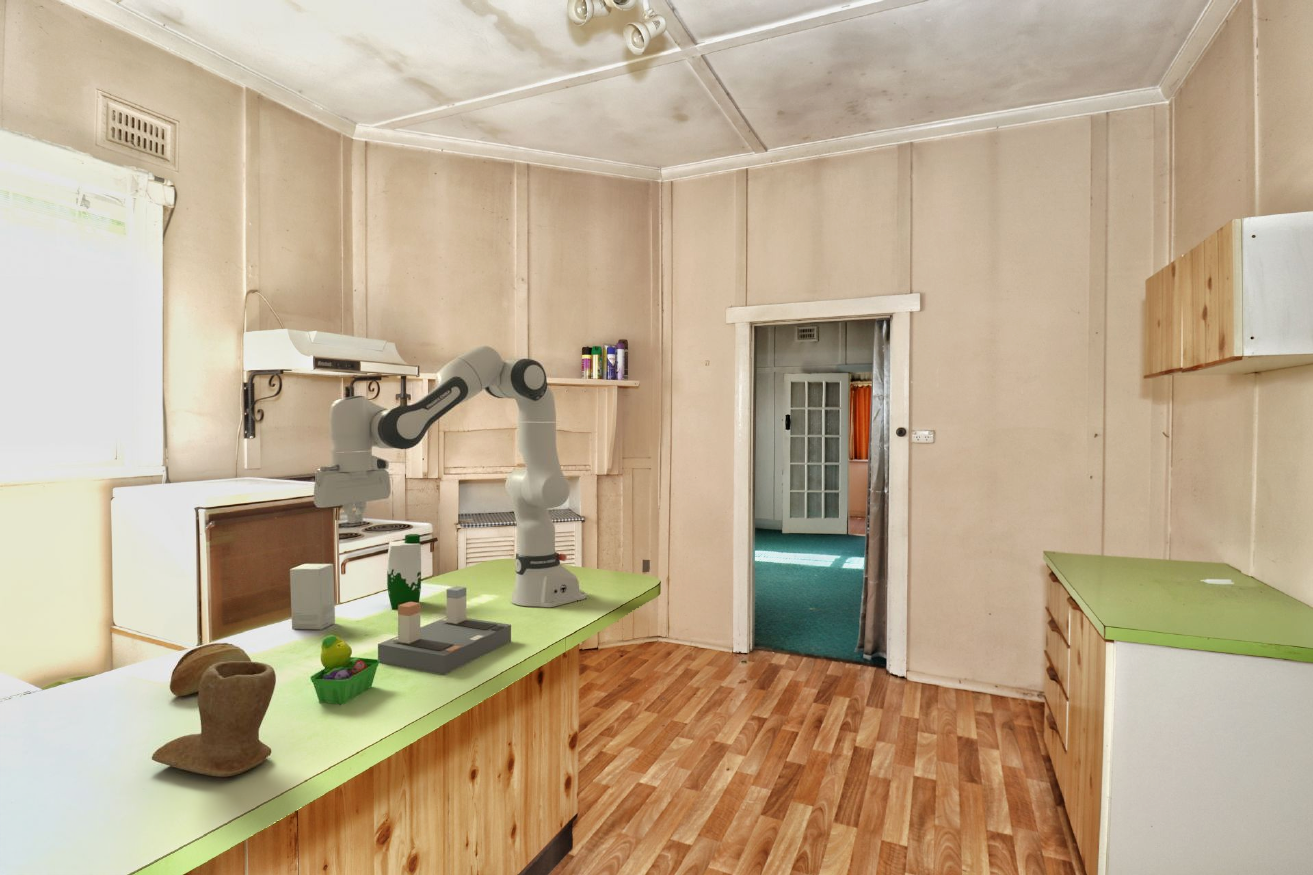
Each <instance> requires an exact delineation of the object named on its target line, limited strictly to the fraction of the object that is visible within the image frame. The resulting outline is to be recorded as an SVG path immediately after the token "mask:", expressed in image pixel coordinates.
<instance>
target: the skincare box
mask: <svg viewBox="0 0 1313 875" xmlns="http://www.w3.org/2000/svg"><path fill="white" fill-rule="evenodd" d="M289 578H290V579H289V581H290V602H291V603H290V610H291V629H292V630H318V631H319V630H324V629H326V628H327V627H329V626H331V625H334V624H335V623H336V608H335V603H336V602H335V576H334V563H304V564H301V565H298V566H295V567H293V568H290V569H289Z"/></svg>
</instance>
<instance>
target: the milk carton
mask: <svg viewBox="0 0 1313 875" xmlns="http://www.w3.org/2000/svg"><path fill="white" fill-rule="evenodd" d="M421 546H422V543H421V534H418V533H409V534H405V536H404V540H397V541H395V540H394V541H389V544H388V551H387V562H386V563H387V565H386V567H387V568H386V569H387V570H386V571H387V572H386V579H387V580H386V584H387V585H386V588H387V594H388V598H389V602H390V607H391V610H398V605H401V604H404V603H407V602H416V603H420V600H421V599H420V597H421V592H422V591H421V590H422V588H421V587H422V549H421V548H422V547H421Z"/></svg>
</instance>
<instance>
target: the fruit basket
mask: <svg viewBox="0 0 1313 875" xmlns="http://www.w3.org/2000/svg"><path fill="white" fill-rule="evenodd" d="M320 645H321V646H320V647H321V652H320V662H321V665H322V666H323V669H321V670H320V671H318V672H316V673H314V674H313V675H311V676H310V681H311V683H312V684H313V687H314V690H315V694H316V697H317V699H318V702H319V703H327V704H332V705H333V704H339V705H344V704H346V703H347V702H348V701H350V700H352V699H354V698H355V697H357V696H358V695H361V694H362V693H364V692H365V690H368V689H370V688H371V687H372V686H373V683H374V679H375V675H376V672H377V669H378V667H379V665H380V663H379V662H380V660H378V658H377V659H376V658H368V657H367V658H365V657H356V656H355V657H354V656H352V653H353V650H352V647H351V646H350V645H349V644H348V643H346V641H344V640H342V639H341V638H340V637H338V636H336V635H334V634H330V635H326V636H325V637H324V638H323V639H322V641H321V644H320Z"/></svg>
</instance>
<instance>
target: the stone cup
mask: <svg viewBox="0 0 1313 875" xmlns="http://www.w3.org/2000/svg"><path fill="white" fill-rule="evenodd" d="M276 681H277V676H276V672H275V669H274V667H272V666H271V665H270V664H268V663H264V662H257V661H251V662H250V661H227V662H220V663H216V664H213V665H212V666H210V667H208V669H207V670H206V671H205V672H204V673H203V675H202V678H201V681H200V685H199V692H198V698H197V707H198V712H199V718H200V719H199V720H200V730H201V731H200V733H194V734H193V733H192V734H188V735H183V736H179V737H177V738H175V739H172V740H171V741H169V742H166V743H165V744H164V745H162V746H160V747H159V748H157V749H156V751H155V752H153V754H152V756H151V760H153V762H157V763H159V764H163V765H165V766H169V767H173V768H176V769H180V770H183V771H187V772H192V773H195V774H200V775H205V776H211V777H217V778H218V777H220V778H222V777H231V776H235V775H239V774H242V773H244V772H247V771H249V770H251V769H253V768H255V767H257V766H258V765H260V764H261V763H263V762H265V761H266V760H267V758H268V757H270V755H271V754H272V749H271V747H269V746H268V745H267V744H265V743H263V742H262V741H261V740H260V728H261V725H262V723H263V720H264V718H265V715H266V714H267V711H268V709H269V707H270V703H271V702H272V698H273V695H274V691H275V688H276V683H277V682H276Z"/></svg>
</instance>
